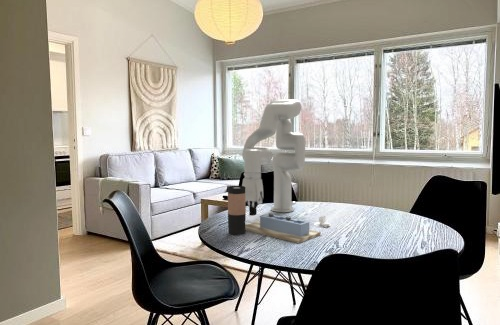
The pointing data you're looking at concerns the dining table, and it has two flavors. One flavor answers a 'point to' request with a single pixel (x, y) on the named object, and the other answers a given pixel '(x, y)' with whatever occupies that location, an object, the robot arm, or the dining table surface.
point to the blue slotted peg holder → (285, 225)
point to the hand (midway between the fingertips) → (252, 214)
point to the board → (297, 239)
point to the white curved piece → (322, 222)
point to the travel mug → (236, 210)
